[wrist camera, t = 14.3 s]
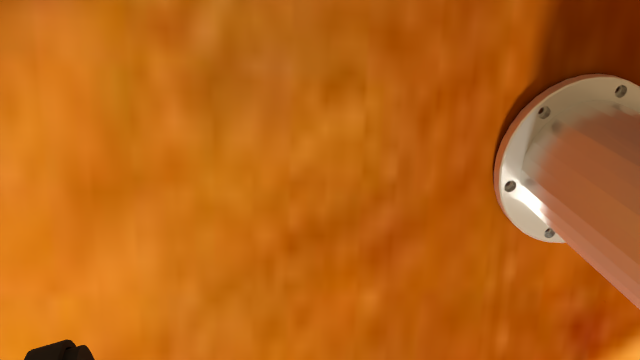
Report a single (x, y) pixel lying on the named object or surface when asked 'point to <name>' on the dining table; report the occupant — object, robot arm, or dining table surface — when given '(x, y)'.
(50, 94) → the dining table surface
